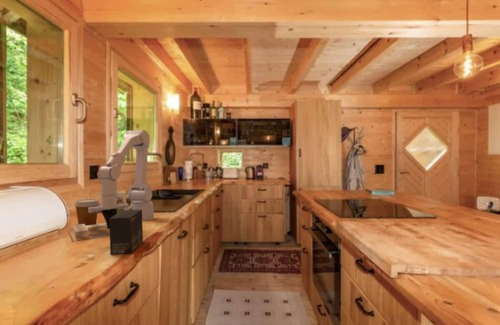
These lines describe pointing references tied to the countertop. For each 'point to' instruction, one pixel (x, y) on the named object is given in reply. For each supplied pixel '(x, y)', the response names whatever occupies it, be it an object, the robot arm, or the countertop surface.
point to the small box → (125, 232)
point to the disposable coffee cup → (86, 211)
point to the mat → (90, 236)
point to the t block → (88, 230)
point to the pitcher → (121, 200)
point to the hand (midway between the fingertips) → (109, 227)
